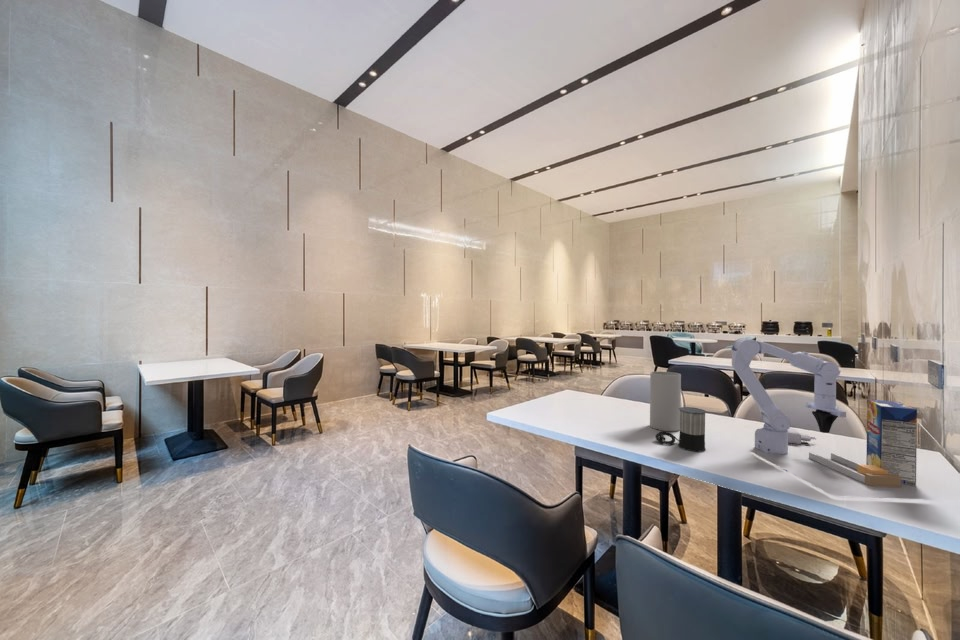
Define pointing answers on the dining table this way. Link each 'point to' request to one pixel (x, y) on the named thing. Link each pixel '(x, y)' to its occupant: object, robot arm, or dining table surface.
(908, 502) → the dining table surface
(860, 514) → the dining table surface
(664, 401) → the cylinder vase
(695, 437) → the milk frother
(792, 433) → the charger
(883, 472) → the orange cube
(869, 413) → the blue food box
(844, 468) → the track
